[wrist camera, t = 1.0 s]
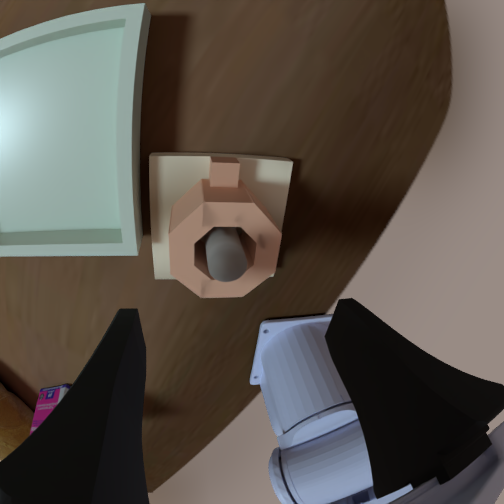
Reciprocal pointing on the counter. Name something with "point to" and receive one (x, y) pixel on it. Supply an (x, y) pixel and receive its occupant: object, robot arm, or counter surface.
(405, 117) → the counter surface
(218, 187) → the ring
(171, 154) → the stake
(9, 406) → the bread
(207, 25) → the counter surface
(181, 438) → the counter surface
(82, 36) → the tray
